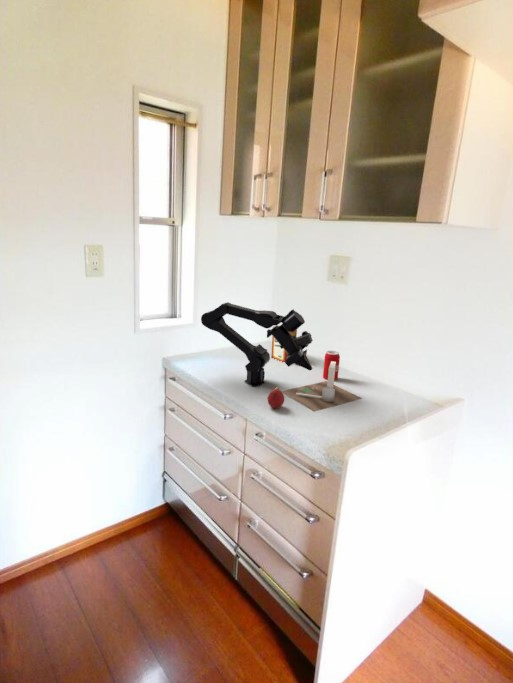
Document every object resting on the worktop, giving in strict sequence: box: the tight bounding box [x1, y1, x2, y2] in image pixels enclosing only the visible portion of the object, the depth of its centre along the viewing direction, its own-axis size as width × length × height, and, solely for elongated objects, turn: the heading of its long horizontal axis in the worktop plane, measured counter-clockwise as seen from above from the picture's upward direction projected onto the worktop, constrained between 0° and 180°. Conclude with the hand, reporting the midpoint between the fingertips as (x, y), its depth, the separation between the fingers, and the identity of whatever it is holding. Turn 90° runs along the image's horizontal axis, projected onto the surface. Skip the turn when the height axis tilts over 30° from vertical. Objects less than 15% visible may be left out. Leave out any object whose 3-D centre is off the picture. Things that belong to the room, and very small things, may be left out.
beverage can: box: [322, 350, 341, 382], centre depth 173 cm, size 6×6×12 cm
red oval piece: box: [267, 386, 285, 409], centre depth 143 cm, size 6×6×8 cm
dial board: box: [280, 380, 363, 412], centre depth 156 cm, size 24×20×1 cm
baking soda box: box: [270, 326, 298, 363], centre depth 196 cm, size 10×6×16 cm
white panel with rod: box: [296, 361, 336, 402], centre depth 155 cm, size 13×14×12 cm
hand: (311, 369), depth 158 cm, fingers closed
